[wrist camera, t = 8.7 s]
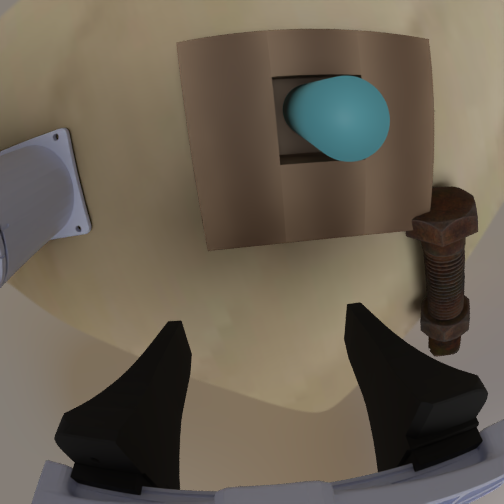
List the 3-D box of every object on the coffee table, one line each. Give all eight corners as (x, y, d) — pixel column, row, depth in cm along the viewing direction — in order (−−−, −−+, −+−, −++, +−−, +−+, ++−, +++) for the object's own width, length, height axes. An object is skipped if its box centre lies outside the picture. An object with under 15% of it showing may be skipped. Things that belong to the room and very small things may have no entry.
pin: (288, 141, 19) (314, 168, 12) (277, 88, 18) (296, 81, 10) (341, 132, 19) (394, 155, 12) (331, 80, 17) (382, 72, 10)
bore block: (213, 227, 22) (207, 250, 19) (187, 51, 17) (176, 42, 14) (405, 209, 22) (428, 228, 19) (403, 45, 16) (428, 39, 13)
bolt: (422, 324, 29) (406, 187, 22) (469, 323, 26) (469, 181, 19) (415, 372, 25) (401, 228, 18) (467, 372, 22) (480, 223, 15)
